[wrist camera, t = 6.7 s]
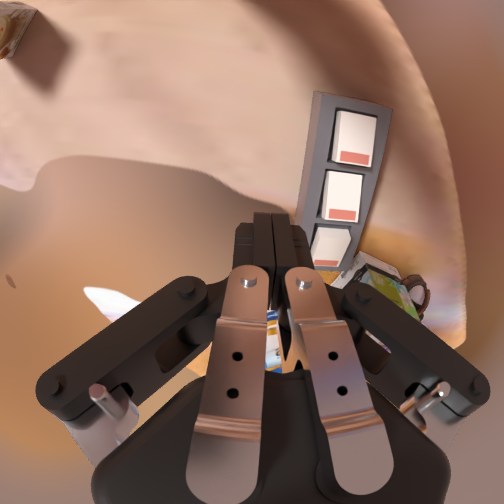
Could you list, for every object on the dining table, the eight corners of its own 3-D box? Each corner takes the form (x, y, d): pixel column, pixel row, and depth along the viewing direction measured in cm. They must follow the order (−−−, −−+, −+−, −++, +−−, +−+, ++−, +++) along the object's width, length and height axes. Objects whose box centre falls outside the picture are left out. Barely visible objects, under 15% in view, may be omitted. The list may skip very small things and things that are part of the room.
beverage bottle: (249, 321, 57) (248, 413, 41) (278, 300, 53) (286, 398, 37) (278, 337, 60) (284, 422, 44) (307, 318, 56) (321, 408, 40)
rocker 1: (336, 111, 29) (341, 110, 27) (370, 118, 29) (376, 118, 28) (331, 159, 32) (336, 161, 30) (364, 164, 32) (370, 167, 30)
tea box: (357, 247, 46) (386, 315, 34) (396, 266, 48) (426, 328, 36) (310, 304, 54) (321, 370, 42) (348, 316, 56) (365, 377, 45)
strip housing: (313, 90, 31) (321, 94, 27) (378, 103, 31) (392, 109, 27) (289, 250, 46) (292, 269, 42) (341, 253, 46) (348, 271, 43)
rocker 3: (317, 227, 37) (320, 237, 36) (348, 229, 38) (351, 239, 36) (308, 255, 42) (310, 265, 41) (336, 257, 42) (338, 267, 41)
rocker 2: (325, 170, 34) (329, 170, 33) (357, 175, 35) (362, 175, 33) (321, 217, 36) (325, 219, 34) (352, 220, 36) (357, 222, 34)
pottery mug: (368, 294, 53) (390, 306, 45) (396, 258, 53) (420, 265, 45) (398, 326, 55) (419, 339, 47) (423, 292, 55) (446, 302, 47)
